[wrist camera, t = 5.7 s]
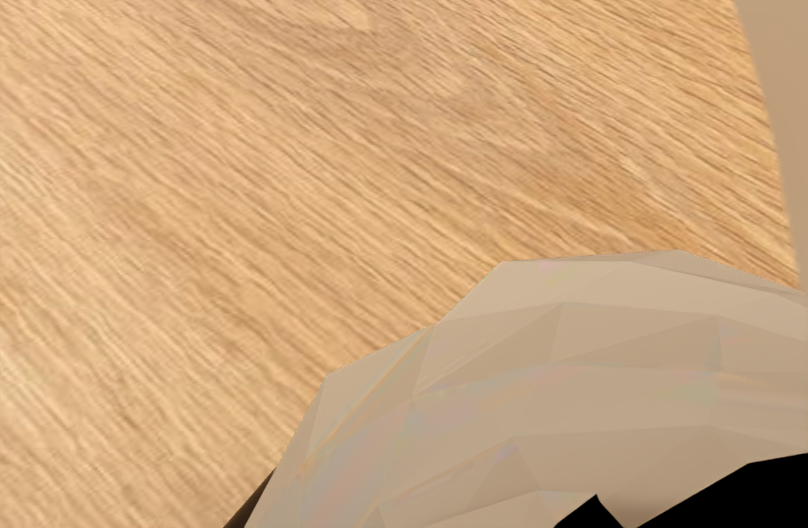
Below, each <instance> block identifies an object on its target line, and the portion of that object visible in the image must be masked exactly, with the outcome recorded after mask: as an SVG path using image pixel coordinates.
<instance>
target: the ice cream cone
mask: <svg viewBox="0 0 808 528" xmlns="http://www.w3.org/2000/svg"><path fill="white" fill-rule="evenodd" d="M244 528H808V294H807V293H805V292H802V291H799V290H796V289H793V288H790V287H787V286H784V285H782V284H779V283H776V282H773V281H770V280H767V279H764V278H761V277H758V276H756V275H753V274H750V273H747V272H744V271H741V270H738V269H735V268H733V267H730V266H727V265H724V264H721V263H718V262H715V261H712V260H710V259H707V258H704V257H701V256H698V255H695V254H692V253H689V252H686V251H684V250H681V249H678V250H663V251H648V252H633V253H618V254H603V255H588V256H574V257H559V258H544V259H529V260H514V261H501V262H499V263H498V264H497V265H496V266H495V267H494V268H493V269H492V270H491V271H490V272H489V273H488V274H487V275H486V276H485V277H484V278H483V279H482V280H481V281H480V282H479V283H478V284H477V285H476V286H475V287H474V288H473V289H472V290H471V291H470V292H469V293H468V294H467V295H466V296H465V297H464V298H463V299H462V300H460V301H459V302H458V303H457V304H456V305H455V306H454V307H453V308H452V309H451V310H450V311H449V312H448V313H447V314H446V315H445V316H444V317H443V318H442V319H441V320H440V321H439V322H436V323H433V324H431V325H429V326H427V327H425V328H423V329H421V330H419V331H417V332H415V333H412V334H410V335H408V336H406V337H404V338H402V339H400V340H398V341H396V342H394V343H392V344H389V345H387V346H385V347H383V348H381V349H379V350H377V351H375V352H373V353H371V354H368V355H366V356H364V357H362V358H360V359H358V360H356V361H354V362H352V363H350V364H348V365H345V366H343V367H341V368H339V369H337V370H335V371H333V372H331V373H329V374H327V375H326V377H325V379H324V381H323V382H322V384H321V386H320V388H319V390H318V392H317V394H316V395H315V397H314V399H313V401H312V403H311V405H310V407H309V408H308V410H307V412H306V414H305V416H304V418H303V419H302V421H301V423H300V425H299V427H298V429H297V431H296V432H295V434H294V436H293V438H292V440H291V442H290V444H289V445H288V447H287V449H286V451H285V453H284V455H283V457H282V458H281V460H280V462H279V464H278V466H277V468H276V469H275V471H274V473H273V475H272V477H271V479H270V481H269V482H268V484H267V486H266V488H265V490H264V492H263V494H262V495H261V497H260V499H259V501H258V503H257V505H256V507H255V508H254V510H253V512H252V514H251V516H250V518H249V519H248V521H247V523H246V525H245V527H244Z"/></svg>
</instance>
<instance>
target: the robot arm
mask: <svg viewBox="0 0 808 528" xmlns="http://www.w3.org/2000/svg"><path fill="white" fill-rule="evenodd" d="M276 468H277V467H276ZM276 468H275V469H276ZM275 469H274V470H273V471H272V473H271V474H270V475H269V476H268V477H267V478H266V479H265V481H264V482H263V483H262V484H261V485H260V486H259V487H258V489H257V490H256V491H255V492H254V493H253V494H252V495H251V497H250V498H249V499H248V500H247V501H246V502H245V503H244V505H243V506H242V507H241V508H240V509H239V510H238V511H237V513H236V514H235V515H234V516H233V517H232V518H231V519H230V521H229V522H228V523H227V524H226V525H225V526H224V527H223V528H244V527H245V525H246V523H247V521H248V519H249V518H250V516H251V514H252V512H253V510H254V508H255V507H256V505H257V503H258V501H259V499H260V497H261V495H262V494H263V492H264V490H265V488H266V486H267V484H268V482H269V481H270V479H271V477H272V475H273V473H274V471H275Z"/></svg>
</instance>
